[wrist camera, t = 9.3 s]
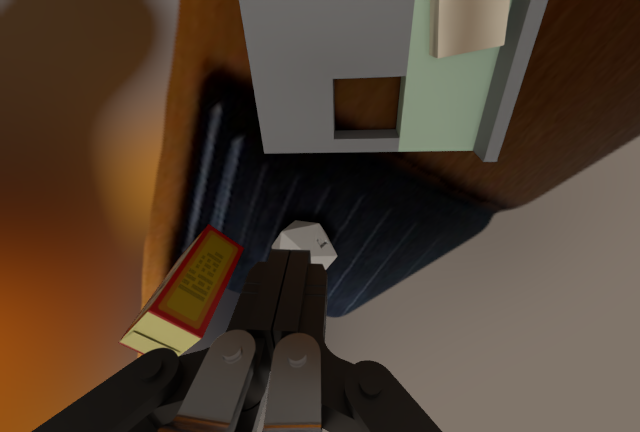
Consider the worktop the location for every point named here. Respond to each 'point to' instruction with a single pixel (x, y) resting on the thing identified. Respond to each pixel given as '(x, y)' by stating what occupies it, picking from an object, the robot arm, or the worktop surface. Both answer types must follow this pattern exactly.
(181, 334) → the baking soda box
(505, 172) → the worktop surface
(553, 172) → the worktop surface
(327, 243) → the die
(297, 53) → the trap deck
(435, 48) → the birch block
